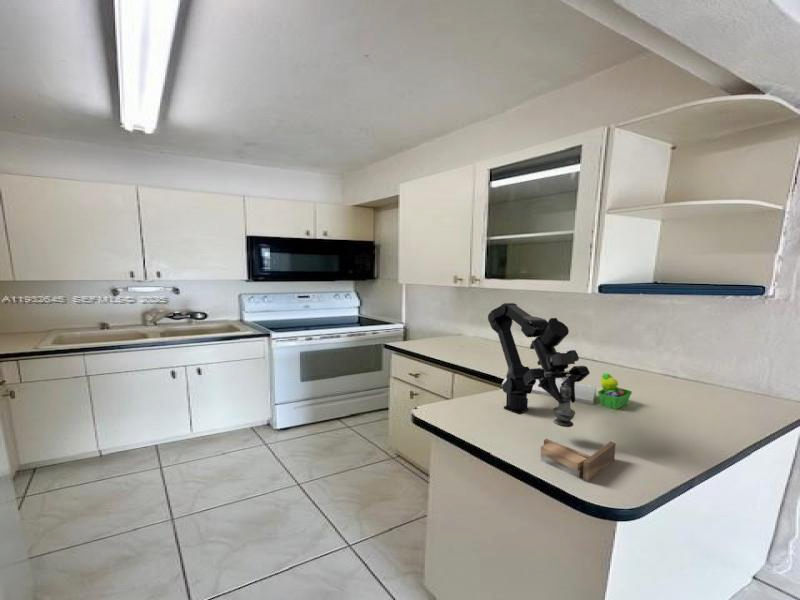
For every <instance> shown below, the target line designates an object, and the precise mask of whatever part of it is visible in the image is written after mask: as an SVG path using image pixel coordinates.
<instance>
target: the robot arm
mask: <svg viewBox="0 0 800 600" xmlns="http://www.w3.org/2000/svg"><path fill="white" fill-rule="evenodd" d="M487 320H488V321H487V322H489V325H490V327H491V329H492V330H493V331H494V332H495V333H496V334H497V336H498V339H499V342H500V345H501V349H502V352H503V355H504V358H505V362H506V365H507V372H506V374H505V378H507V380H506V381H505V383H504V384H503V385H502V384H501V387H502V386H503V387H502V391H503V392H504V393H505V394H506V403H505V404H506V405H505V406H503V409H505V410H507V411H509V412H513V413H515V414H522V413H524V412H526V411H528V410H529V409H530V408H529V407H528V405H529V404H528V403H529V399H528V395H530V394H532V393H531V391H532V388H533V385H534V384H535V383H536V380H538V379H539V382H540V384H539V385H538V387H542V388H543V389H544V390H545V391H547V392H548V393H549V394H550V395H551V396H550V397H552V398H553V399H555V401H556V402H557V403H558V404H559V403H560V404H562V403H563V401H562V397H561V395H560V393H559V390H558V388H557V385H556V380H557V379H561V381H563V383H562V384H561V385H562V386H563V385H565V383H567V386H569V387H570V388H571V395H570V398H571V399H572V400H571V401H570V403H574V404H575V403H576V401H575V383H580V382H581V381H583V380H584V379H585V378H586V377H588V375H590V373H591V372H590V370H589V368H588V367H587V365H586V366H585V365H575V364H576V362H578V361H579V360H580V359H579V354H578V353H577V351H576V349H573V350H571V349H570V350H567V351H566V352H559V351H558V352H557V349H556V347H557V346H559V345H560V344H561V342H562V341H563V340H564V339H565V338H566V337H567V336H569V332H570V331H569V327H568V326H567V325H566V324H565V323H564V322H562V321H560V320H558V318H557V317H550V318H549V320H546V319H544V318H542V317H538V316H532V315H531V314H529V312H526V311H525V310H523V309H522V308H520V306H518V304H517V303H514V302H504V303H502V304H501V305H500V306H498V307H495V308H494V309H492V310H491V311H490V312H489V313H488V315H487ZM513 322H514V323H516V324H517V325H519V326H520V327H521V330H520V331H521V333H522V334H523V335H524V336H525V337H526V338H535V339H534V340H532V341H531V344H530V347H529V349H530V350H534V351H535V353H536V356H537V358H538V361H537V365H538V366H541V368H540V367H537V368H530V367H529V366H524V365H523V364H522V360H521V358H520V355H519V352H518V351H519V350H518V349H517V345H516V342H515V339H514V336H513V332H512V329H511V328H512V325H513ZM569 365H573V367H571V368H570V369H569V370H566V369H568V368H569Z"/></svg>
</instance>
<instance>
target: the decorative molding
mask: <svg viewBox="0 0 800 600" xmlns="http://www.w3.org/2000/svg"><path fill="white" fill-rule="evenodd" d="M506 380H507V378H506V377H505V378H504V379H503V381H502V383H501V387H502V388H503V386H502V385H503V384H504V383H505V381H506ZM562 383H563V380H560V379H556V385H557V388H558V390H559V393H560V387H561V386H562V385H561V384H562ZM539 384H540V382H539V379H538V380H536V383H535V384H534V385H533V388H532V391H531V394H537V395H543V396H547V397H552V396H551V395H550V394H549V393H548V392H547V391H545V390H544V389H543V388H542V387H538V385H539ZM596 397H597V386H595V385H588V384H582V383H579V382H575V402H579V403H583V404H588V405H594V402H595V399H596Z"/></svg>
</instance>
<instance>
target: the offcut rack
mask: <svg viewBox="0 0 800 600" xmlns="http://www.w3.org/2000/svg"><path fill="white" fill-rule="evenodd" d="M549 442H551V443H553V444H556V445H558V446H560V447H562V448H565V449H567V450H569V451H571V452H573V453H576V454H578V455H580V456H582V457H585V458H587V459H586V460H585V461H584V464H583V475H582V481H584V482H586V483H589V482H590V481H591V480H593V478H595V477H596V476H598V474H599V473H601V472H602V471H603V470H604V469H606V468H607V467H608V466H609V465H610V464H612V462H614V461H615V457H616V456H615V455H616V442H614V441H609V442H608V443H606V444H605V445H604V446H603V447H601V448H599V450H597V451H596V452H594V453H593V454H592V455H588V454H586V453H583V452H581V451H580V450H579V451H578V450H575V449H573V448H571V447H568V446H566V445H564V444H562V443H561V444H560V443H558V442H556V441H553V440H551V439H548V438H545V439H544V440H543V445H545V444H547V443H549Z"/></svg>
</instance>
